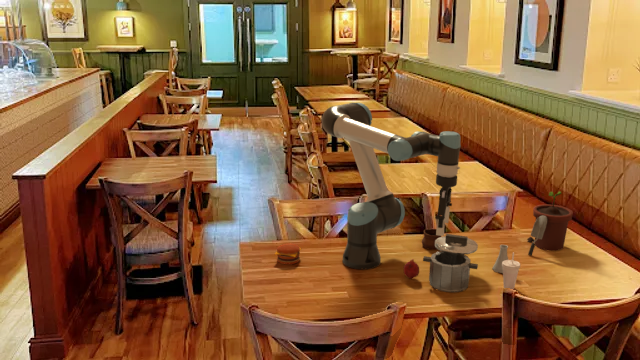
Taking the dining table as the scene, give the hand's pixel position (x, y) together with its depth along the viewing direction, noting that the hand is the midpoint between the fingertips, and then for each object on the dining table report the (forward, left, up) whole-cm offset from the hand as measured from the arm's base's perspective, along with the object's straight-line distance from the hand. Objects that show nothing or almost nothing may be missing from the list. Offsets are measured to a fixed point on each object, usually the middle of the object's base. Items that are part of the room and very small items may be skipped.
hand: (442, 228), depth 233 cm
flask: (+22, +13, -19) cm, 32 cm away
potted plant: (+36, +44, -19) cm, 60 cm away
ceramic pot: (-8, +27, -19) cm, 34 cm away
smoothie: (+26, -2, -19) cm, 32 cm away
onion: (-9, -8, -19) cm, 22 cm away
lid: (+5, +5, -8) cm, 11 cm away
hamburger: (-59, -9, -19) cm, 63 cm away
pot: (+5, -7, -19) cm, 20 cm away
